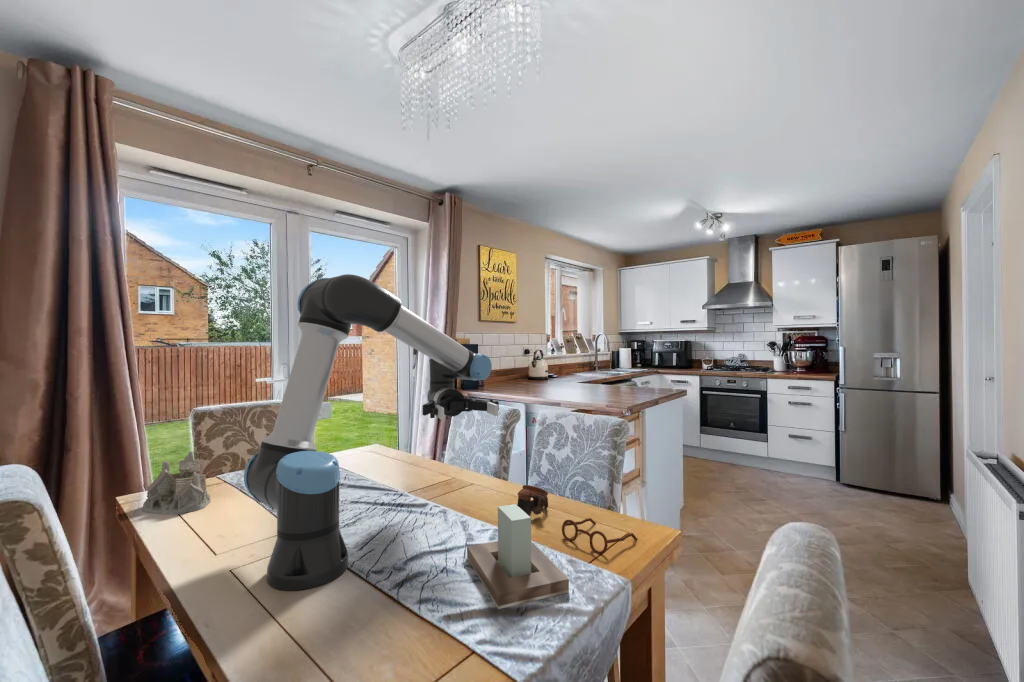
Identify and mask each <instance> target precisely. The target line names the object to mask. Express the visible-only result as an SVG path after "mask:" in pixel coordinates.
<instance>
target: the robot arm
mask: <svg viewBox="0 0 1024 682" xmlns="http://www.w3.org/2000/svg"><path fill="white" fill-rule="evenodd" d="M297 310H298V312H299V314H300V317H299V319H298V324H297V326H298V327H299V329H300V330H301V337H300V340H299V344H298V347H297V350H296V354H295V357H294V360H293V364H292V367H291V370H290V373H289V377H288V380H287V384H286V387H285V389H284V394H283V396H282V399H281V404H280V405H279V406H280V407H279V410H278V413H277V416H276V419H275V423H274V426H273V429H272V432H271V433H270V434H269V435H267V436H266V437H264V438H262V440H261V443H260V446H259V449H258V452H257V453H255V454H254V455H253V456H251V458H250V459H249V460H248V462H247V464H246V465H245V467H244V471H243V482H244V487H245V489H246V490H247V492H248V493H249V494H250V495H251V496H252V497H253V499H254V500H256V501H257V502H258V503H261V504H264V505H266V506H268V507H270V508H271V509H274V510H275V511H276V530H277V531H276V541H275V544H274V547H273V549H272V552H271V555H270V559H269V561H268V564H267V567H266V583H268V585H269V586H270V587H272V588H273V589H277V590H282V591H302V590H307V589H311V588H316V587H318V586H321V585H325V584H327V583H329V582H332V581H333V580H335V579H336V578H339V577H340V576H341V575H342V574H343V573H344V572H345V571H346V570H347V568H348V567H349V553H348V552H349V551H348V548H347V547H346V543H345V540H344V537H343V535H342V532H341V529H340V480H341V471H340V464H339V460H338V459H337V457H336V456H335V455H333V454H331V453H329V452H326V451H317V446H316V444H315V442H314V441H313V437H314V434H315V430H316V428H317V424H318V420H319V416H320V414H321V409H322V406H323V402H324V399H325V396H326V391H327V388H328V385H329V380H330V377H331V374H332V372H333V371H332V370H333V366H334V363H335V360H336V357H337V353H338V349H339V347H340V346H339V345H340V343H341V342H342V341H344V340H346V339H348V337H349V333H350V330H351V327H352V325H357V326H358V325H360V326H365V327H366V328H370V329H372V330H374V332H376V333H383V332H385V333H387V334H388V335H390V336H392V337H394V338H396V339H397V340H398V341H400V342H402V343H404V344H406V345H407V346H409V347H410V348H413V349H415V350H416V351H418V352H420V353H421V354H423V355H424V356H426V357H428V358H429V360H428V362H429V389H428V391H427V401H428V402H427V403H425V404H423V405H422V416H425V417H426V416H428V415H429V417H430V419H435V418H436V417H437V418H438V419H440V420H443V421H444V420H445V416H447V417H452V418H453V417H457V416H459V415H460V414H461V413H462V412H466V413H467V412H472V411H480V412H486V413H487V414H490V415H492V416H494V417H498V416H499V411H500V408H499V407H500V406H499V405H500V403H499V400H494V399H493V398H490V399H489V400H488V399H483V398H482V399H481V398H477V397H475V398H468V397H465V395H464V394H463V393H462V392H461V391H459V390H456V389H455V380H465V381H467V380H469V381H474V382H475V381H476V382H477V381H484V380H486V379H488V378H489V376H490V375H491V372H492V368H493V366H492V360H491V359H490V357H489V356H488V355H487V354H485V353H483V354H482V353H475V352H473V351H471V350H470V349H468V348H466V347H465V346H463V345H462V344H461V343H459V342H458V341H456V340H454V339H453V338H452V337H450V336H448V335H447V334H445V333H444V332H443V331H442V330H440V329H438V328H437V327H435V326H433V325H432V324H430V323H429V322H427V321H426V320H425V319H423V317H420V316H419V315H417V314H416V313H415V312H413V311H411V310H409V309H408V308H407V307H405V306H404V305H403V304H402V301H401V299H400V298H399V297H397V296H396V295H395V294H393V293H392V292H390V291H388V290H387V289H386V288H384V287H382V286H381V285H379V284H378V283H375V282H373V281H371V280H369V279H368V278H365V277H363V276H360V275H357V274H356V275H355V274H351V273H350V274H349V273H348V274H341V275H338V276H333V277H323V278H319V279H316V280H314V281H312V282H310V283H308V284H306V285H305V286H304V287H303V288H302V290H300V293H299V295H298V297H297Z"/></svg>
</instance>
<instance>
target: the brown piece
mask: <svg viewBox="0 0 1024 682" xmlns="http://www.w3.org/2000/svg"><path fill="white" fill-rule="evenodd" d="M548 495H549V492H548V491H546V490H545V489H543V488H541V487H537V486H534V485H528V484H524V485H522V489H520V490H519V491H518V492H517V496H518V498H517V504H516V505H517V506H518V507H520V508H521V509H522V510H523V511H524V512H525V513H526V514H527V515H529V516H530V517H531V516H532V513H533V514H534V515H536V516H538V515H541V513H542V512H543V511H542V510H543V509H544V510H547V509H548V508H549V498H548ZM531 498H532V500H531ZM531 518H532V517H531Z"/></svg>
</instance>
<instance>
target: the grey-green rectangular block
mask: <svg viewBox="0 0 1024 682" xmlns="http://www.w3.org/2000/svg"><path fill="white" fill-rule="evenodd" d="M517 505H518V504H516V503H513V504H506V505H500V506H497V541H498V564H499V565H500V566H501V568H502V569H503V570H504V572H505V573H506V574H507V576H508V577H509V578H512V577H516V576H521V575H526V574H530V573H531V541H532V517H530V516H529V515H527V514H526V513H525V512H524V511H523V510H522V509H521V508H520V507H518V506H517Z"/></svg>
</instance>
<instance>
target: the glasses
mask: <svg viewBox="0 0 1024 682" xmlns="http://www.w3.org/2000/svg"><path fill="white" fill-rule="evenodd" d="M587 522H591V524H592V525H596V524H597V523H596V522H595V521H594V520H593V519H592V518H585V519H582V520H579V521H575V520H571V519H566V520H564V521H563V523H562V525H561V534H562V536H563V538H564V539H565V540H566V541H569V542H570V543H571V542H574V541H576V540H577V538H578V535H579V533H582V534H583V535H584V534H585V535H587V536H588V537H589V546H590V549H591V551H593V552H594V553H596V554H599V555H604V554H605V553H606V552H607V549H608V545H609V544H612V543H618V542H623V541H625V540H627V539H628V538H629V537H632V539H633V540H635V541H637V540H638V537H636V535H635V534H634V533H633V532H630V533H627V534H625V535H624V536H623V537H618V538H611V539H608V538H607V536H606V535H605V533H603V532H602V531H600V530H595V531H593V532H589V531H587V530H585V529H581V528H579V527H578V526H579V525H583V524H585V523H587ZM569 526H573V527H574V530H575V532H574V536H573V537H572V538H569V537H568V536H567V535H566V531H565V529H566V527H569ZM596 534H597V535H599V536H601V537H602V539H603V542H604V546H603V549H602V550H601V551H600V550H597V549H596V548H595V547H594V544H593V539H594V538H593V537H594V536H595V535H596Z"/></svg>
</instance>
